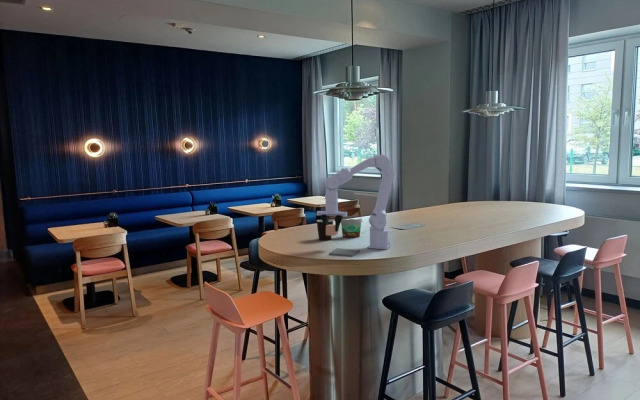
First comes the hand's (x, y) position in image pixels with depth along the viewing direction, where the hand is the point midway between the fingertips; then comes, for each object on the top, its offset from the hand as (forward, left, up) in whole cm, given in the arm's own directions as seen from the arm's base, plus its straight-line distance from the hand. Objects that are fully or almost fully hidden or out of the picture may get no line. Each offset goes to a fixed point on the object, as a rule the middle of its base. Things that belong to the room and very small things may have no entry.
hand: (331, 231), depth 220 cm
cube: (0, 0, -2) cm, 2 cm away
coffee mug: (+11, -22, -9) cm, 26 cm away
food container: (0, -31, -9) cm, 33 cm away
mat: (-8, +7, -9) cm, 14 cm away
